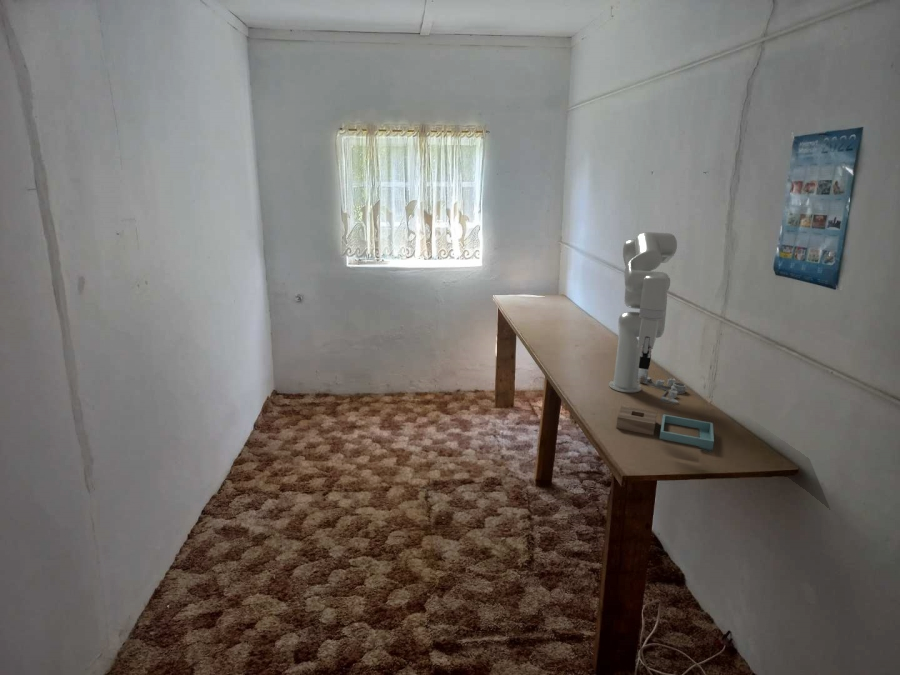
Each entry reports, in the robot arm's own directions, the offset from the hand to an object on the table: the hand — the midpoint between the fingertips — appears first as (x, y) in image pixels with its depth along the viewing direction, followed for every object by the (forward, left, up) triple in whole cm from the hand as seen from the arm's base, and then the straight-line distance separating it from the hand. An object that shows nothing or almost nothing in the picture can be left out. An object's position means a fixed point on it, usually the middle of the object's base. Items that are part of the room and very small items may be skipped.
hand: (644, 366), depth 194 cm
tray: (0, +16, -22) cm, 27 cm away
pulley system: (-44, +8, -23) cm, 50 cm away
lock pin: (0, 0, -5) cm, 5 cm away
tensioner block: (0, 0, -22) cm, 22 cm away
